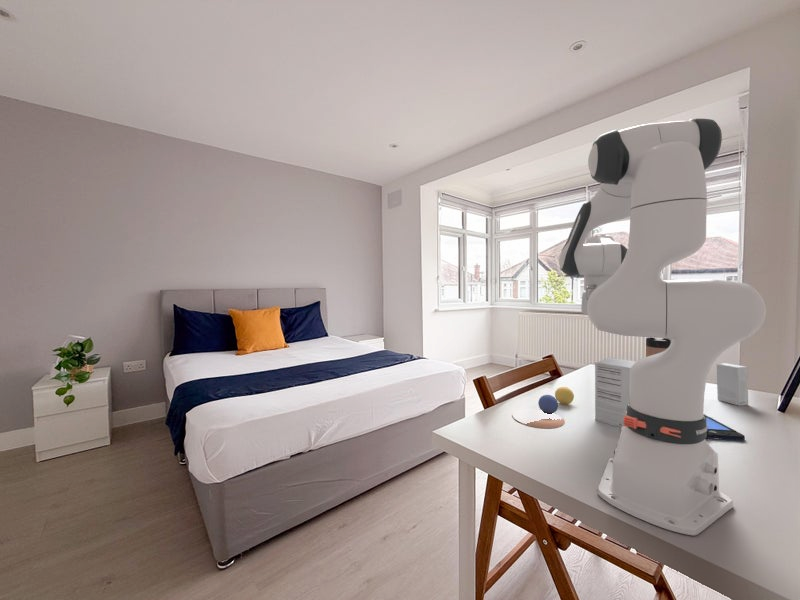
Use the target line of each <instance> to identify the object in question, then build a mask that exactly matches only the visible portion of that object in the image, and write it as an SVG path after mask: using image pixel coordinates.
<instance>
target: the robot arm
mask: <svg viewBox="0 0 800 600" xmlns="http://www.w3.org/2000/svg"><path fill="white" fill-rule="evenodd" d="M722 137H723V135H722V130H721V127H720V125H719V124H718V123H717V121H716V120H714V119H710V118H690V119H688V120H675V121H667V122H666V121H664V122H657V123H655V122H651V123H645V124H641V125H636V126H631V127H627V128H624V129H620V130H618V129H613V130H611V131H608V132H606V133H603V134H600V135H598V137H597V138H596V139H595V141H593V144H592V146H591V149H590V151H589V154H588V158H587V159H588V160H587V165H588V166H587V167H588V170H589V172H590V176H591V178H592V179H593V180H594V181H595V182H597V183H600V186H599V188H598V190H597V191H596V193H595V194H594V195H593V196H592V197H591V198H590V199H589V200H587V201H586V202H584V203H583V204H582V205H581V207H580V209H579V211H578V213H577V216H576V218H575V220H574V222H573V224H572V227H571V230H570V232H569V234H568V237H567V240H566V243H564V246H563V247H562V249H561V252H560V254H559V257H558V266H559V270H560V271H561V272H562V273H564V274H565V275H566V276H567V277H577V276H583V290H584V291H583V292H582V296H581V309H580V310H581V313H582V314H583V315H588V319H589V321H590V322H591V324H592V325H593V326H594V327H595V329H596V330H598V331H600V332H605V333H609V334H614V335H619V336H624V337H638V338H639V337H641V338H655V339H658V338H659V339H663V338H665V339H669V340H670V341H671V344H670V346H669V347H668V348H667V349H666V350H665V351H663V352H661V353H658V354H655V355H651V356H648V357H646V356H645V357H642V358H641V359H639V360H637V361H636V362H635V363H634V364H633V366H632V367H631V369H630V388H629V403H628V404H627V409H626V413H625V417H624V421H623V422H624V426H623V427H620V430H621V431H620V432H621V433H620V436H619V439H618V443H617V446H616V449H614V451H613V455H614V457H609V459H608V460H607V464H606V465H605V466H606V467H605V468H604V472H603V474H602V475H601V479H600V481H599V485H598V487H597V495H598V496H599V497H600V498H602V500H604V501H605V502H606V503H609V504H610V505H611V506H612V507H615V508H617V509H619V510H621V511H623V512H625V513H627V514H629V515H631V516H633V517H635V518H637V519H639V520H642V521H644V522H647V523H648V524H652V525H654V526H657V527H659V528H663V529H665V530H667V531H671V532H673V533H674V532H675V533H679V534H684V535H687V536H688V535H689V536H697V535H699V534H700V533H702V532H703V531H704V530H706V529H707V528H708V527H709V526H710V525H712V524H713V523H714V522H716V521H717V520H718V519H719V518H721V517H722V516H723V515H724V514H726V513H727V512H728V511H729V510H731V509H733V508H734V503H733V499H732V498H731V497H730V496H729V495H727V494H725V493H723V492H722V491H720V475H719V473H720V472H719V455H718V453H717V451H716V450H715V449H714V448H712V447H711V446H710V444H709V443H708V442H707V440H706V437H707V429H708V427H707V422H706V417H705V416H704V415H705V414H704V406H705V405H704V403H705V391H706V385H707V379H708V375H709V372H710V370H711V369H712V366H713V365H714V363H715V362H716V360H717V359H718V358H719V357H720V356H721V355H723V353H724V352H726V351H727V350H728V349H730V348H731V347H733V346H734V345H736V344H737V343H740V342H742V341H744V340H747V339H749V338H750V337H752V336H753V335H754V334H756V333H757V332H758V331H759V330H760V329H761V327H762V326H763V325H764V322H765V319H766V315H767V307H766V303H765V301H764V300H765V299H763V297H762V295H761V294H760V292H758V291H757V290H756V289H755V288H754V287H753V286H752V285H751V284H748V283H746V282H737V281H730V280H723V279H722V280H720V279H712V278H711V279H675V280H673V279H671V280H670V279H669V280H665V279H662V278H661V277H660V275H661V272H662V271H663V270H664V268H666V267H668V266H670V265H672V264H674V263H678V262H680V261H682V260H684V259H686V258H687V257H690V256H692V255H694V254H695V253H696V252H698V251H700V249H701V248H702V247H704V245H705V242H706V240H707V207H708V206H707V203H708V201H707V199H708V198H707V197H708V195H707V191H708V190H707V177H706V171H705V170H707V169H708V168H709V167H710V166H711V165H712V164H713V163H714V161H716V160H717V157H718V156H719V153H720V150H721V146H722V141H723V138H722ZM628 217H629V236H628V244H627V247H626V246H625V245H624V244H623V243H620V242H616V241H614V237H613V236H611V235H609V234H597V235H592V236H591V237H588V236H589V234H590V233H591V231H594V230H595V229H597V228H600V227H601V226H603V225H606V224H610V223H612V222H616V221H619V220H620V221H621V220H624V219H627V218H628ZM703 414H704V415H703Z"/></svg>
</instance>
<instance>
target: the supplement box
mask: <svg viewBox="0 0 800 600" xmlns="http://www.w3.org/2000/svg"><path fill="white" fill-rule="evenodd" d="M635 362H637V361H635V360H629V359H623V358H615V357H607V358H605V359H601V360H598V361H595V362H594V374H595V375H594V388H595V389H594V391H595V392H594V393H595V394H594V395H595V396H594V401H595V402H594V412H595V413H594V414H595V415H594V417H595V419H594V420H595V421H597V422H601V423H604V424H608V425H611V426H615V427H618V428H621V427H623V426H624V422H623V421H624V417H625V413H626V409H627V404H628V403H629V388H630V369H631V367H632V366H633V364H634V363H635Z"/></svg>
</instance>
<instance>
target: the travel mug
mask: <svg viewBox="0 0 800 600" xmlns="http://www.w3.org/2000/svg"><path fill="white" fill-rule="evenodd" d="M670 344H671V341H670V340H669V339H665V338H659V339H658V338H655V337H645V357H648V356H651V355H655V354H658V353H661V352H663V351H665V350H666V349H667V348H668V347H669V346H670Z"/></svg>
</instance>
